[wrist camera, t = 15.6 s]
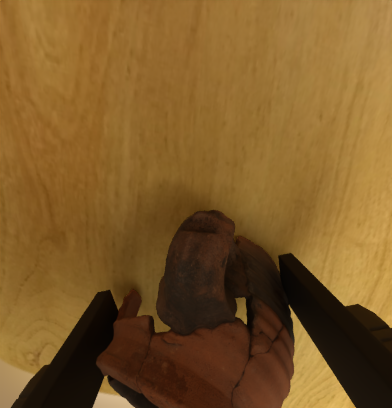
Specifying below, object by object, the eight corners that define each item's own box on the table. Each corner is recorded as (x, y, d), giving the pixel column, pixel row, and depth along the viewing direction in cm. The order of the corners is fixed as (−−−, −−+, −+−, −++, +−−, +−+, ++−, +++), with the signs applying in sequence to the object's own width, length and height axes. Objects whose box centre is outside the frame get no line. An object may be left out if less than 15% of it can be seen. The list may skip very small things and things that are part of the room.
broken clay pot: (286, 322, 14) (278, 515, 8) (177, 287, 18) (114, 398, 12) (316, 173, 8) (383, 479, 2) (143, 167, 12) (-21, 265, 6)
